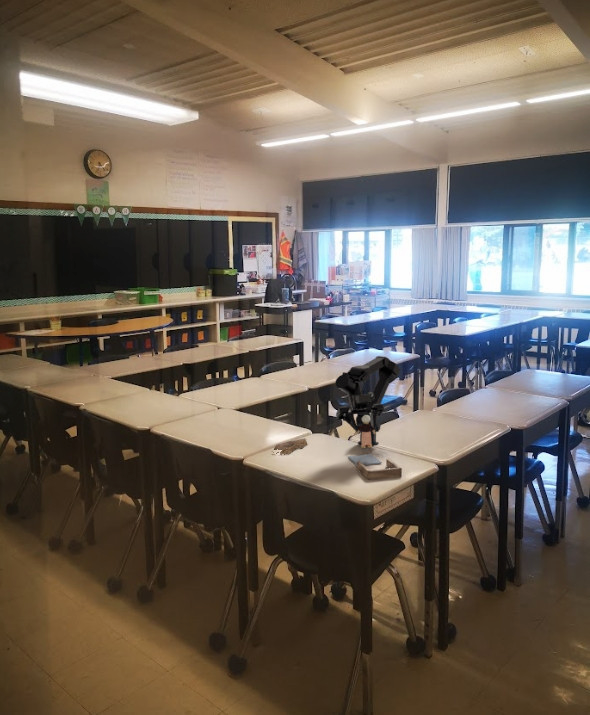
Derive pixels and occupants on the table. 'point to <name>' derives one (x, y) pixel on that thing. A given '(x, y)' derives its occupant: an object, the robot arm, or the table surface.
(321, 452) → the table surface
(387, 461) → the walnut stall
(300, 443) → the wooden fragment
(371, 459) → the slate mat
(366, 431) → the grandmother figurine
